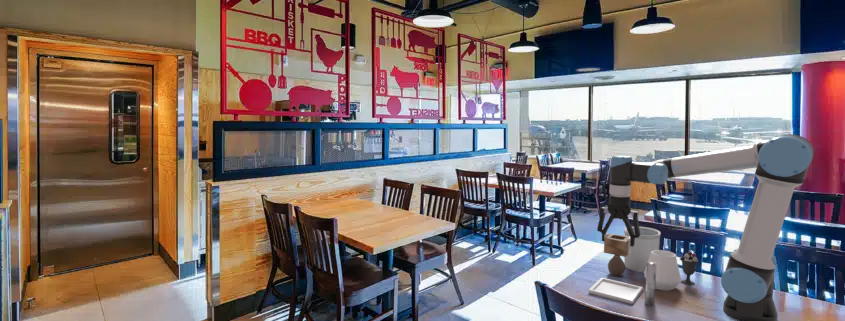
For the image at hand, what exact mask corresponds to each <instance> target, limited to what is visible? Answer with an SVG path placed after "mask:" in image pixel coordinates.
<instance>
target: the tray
mask: <svg viewBox="0 0 845 321" xmlns="http://www.w3.org/2000/svg"><path fill="white" fill-rule="evenodd" d="M643 289H644V288H643V286H639V285H635V284H632V283H626V282H623V281H619V280H615V279H609V278H606V277H600V278H599V279H598V280H597V281H596V282H595V283H594V284H593V285H592V286H591V287H590V288H589V289H588V294H590V295H594V296H599V297H602V298H605V299H610V300H614V301H617V302H621V303H625V304H629V305H634V303H635V302H636V300H637V299H638V298H639V296H640V295H641V294H642V292H643Z"/></svg>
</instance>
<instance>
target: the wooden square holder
mask: <svg viewBox="0 0 845 321" xmlns="http://www.w3.org/2000/svg"><path fill="white" fill-rule="evenodd" d="M629 237H630V236H625V234H624V235H623V234H616V233H609V235H608V236H606V237H605V238H604V241H603V243H604V244H603V253H604V254H609V255H613V256H614V255H618V256H620V257H626V256H627V253H628V238H629Z"/></svg>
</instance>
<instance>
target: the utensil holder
mask: <svg viewBox="0 0 845 321" xmlns="http://www.w3.org/2000/svg"><path fill="white" fill-rule="evenodd" d="M631 227H632V229H633V231H634V234H635V230H634V226H631ZM639 229H640V236H639V237H638V238H635V245H634V246H632V249H631V254H630V255H627V256H626V257H624V258H623V259H624V264H625V269H626V268H627V269H628V270H631V271H634V272H637V273H644V271H645V268H646V265H647V262H648V260H649V257H650V254H651V251H654V250H660V239H661V235H662V233H661V231H660V230H658V229H656V228H652V227H645V226H639ZM623 233H624V236H630V235H629V233H628V230H627V228H626V227H624V229H623Z"/></svg>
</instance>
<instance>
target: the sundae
mask: <svg viewBox="0 0 845 321" xmlns="http://www.w3.org/2000/svg"><path fill="white" fill-rule="evenodd" d="M696 250H697V249H696V248H694V249H693V250H692V251H689V252H686V253H685V254H684V255H683V254H682V253H681V254H680V256H681V257H679V261H681V265H682V272H683V273H684V274H685V275H686V279H684V280H683V279H681V282H680V283H681V284H683V285H686V286H694V285H696V284H695V282H693V281H692V280H691V276H692V275H693V274H695V271H696V268H697V264H698V263H699V262H700V261H699V259H698V258H697V255H696V253H693V252H695V251H696Z"/></svg>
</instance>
